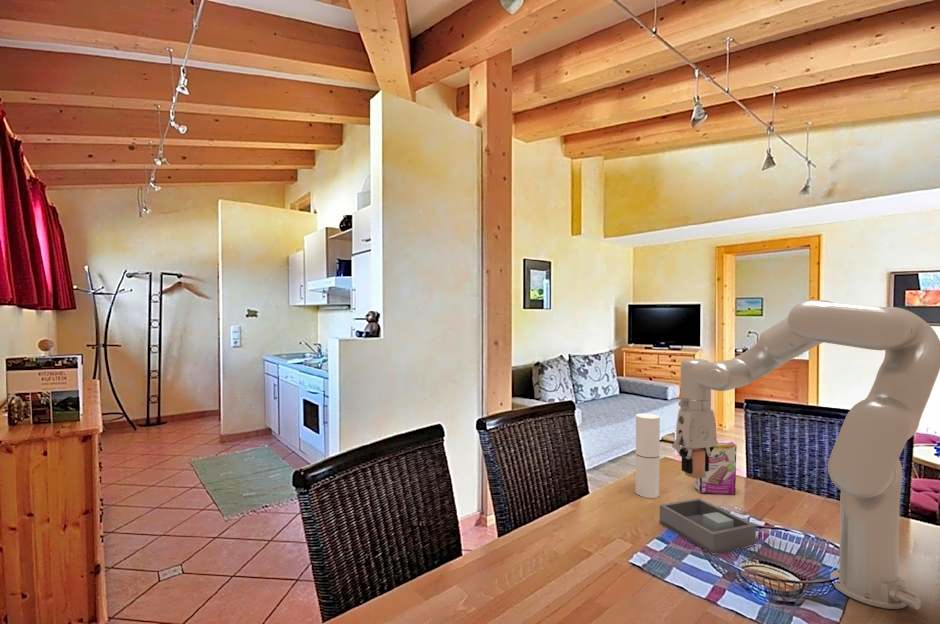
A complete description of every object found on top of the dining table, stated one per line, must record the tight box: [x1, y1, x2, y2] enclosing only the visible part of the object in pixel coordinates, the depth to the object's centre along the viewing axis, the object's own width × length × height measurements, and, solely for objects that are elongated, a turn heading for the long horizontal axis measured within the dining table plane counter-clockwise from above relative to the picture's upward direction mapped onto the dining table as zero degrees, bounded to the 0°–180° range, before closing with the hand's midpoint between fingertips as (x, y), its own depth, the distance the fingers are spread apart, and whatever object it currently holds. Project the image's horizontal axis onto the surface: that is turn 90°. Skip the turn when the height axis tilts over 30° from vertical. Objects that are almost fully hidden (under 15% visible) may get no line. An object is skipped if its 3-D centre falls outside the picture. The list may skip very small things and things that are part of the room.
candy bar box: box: [694, 439, 738, 496], centre depth 153 cm, size 11×5×16 cm, turn 84°
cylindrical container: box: [634, 412, 661, 499], centre depth 151 cm, size 7×7×25 cm
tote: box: [659, 497, 757, 554], centre depth 125 cm, size 18×14×5 cm
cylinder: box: [684, 448, 705, 479], centre depth 129 cm, size 5×5×7 cm
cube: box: [702, 512, 734, 532], centre depth 121 cm, size 5×5×5 cm
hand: (695, 470), depth 129 cm, fingers closed on cylinder, 4 cm apart
